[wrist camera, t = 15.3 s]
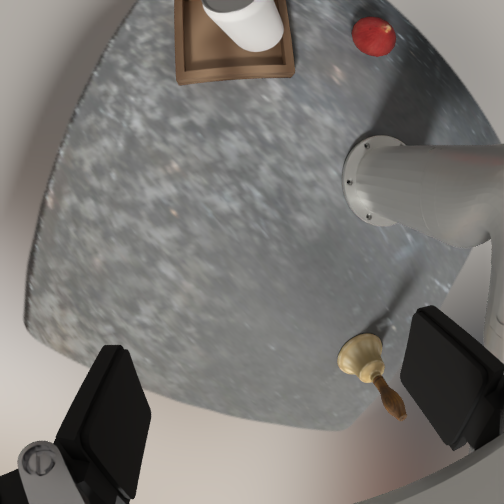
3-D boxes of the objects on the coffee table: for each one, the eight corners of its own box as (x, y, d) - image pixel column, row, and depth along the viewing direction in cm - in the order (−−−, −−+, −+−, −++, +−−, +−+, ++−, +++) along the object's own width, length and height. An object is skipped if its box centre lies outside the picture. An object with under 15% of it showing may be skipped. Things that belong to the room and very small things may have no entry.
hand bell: (384, 328, 45) (434, 387, 30) (378, 366, 48) (419, 427, 32) (338, 338, 45) (379, 406, 29) (335, 377, 47) (368, 445, 32)
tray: (280, -7, 29) (283, -16, 27) (290, 77, 33) (295, 72, 31) (176, -1, 28) (174, -10, 26) (179, 85, 32) (176, 80, 30)
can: (237, 10, 29) (203, -33, 18) (287, 12, 28) (270, -36, 17) (229, 51, 31) (189, 18, 20) (280, 55, 30) (259, 17, 19)
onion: (348, 21, 31) (371, -2, 23) (383, 39, 32) (411, 21, 24) (339, 51, 32) (363, 31, 25) (376, 69, 33) (405, 54, 26)
